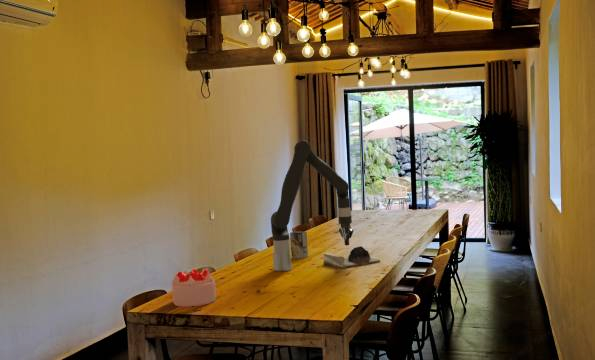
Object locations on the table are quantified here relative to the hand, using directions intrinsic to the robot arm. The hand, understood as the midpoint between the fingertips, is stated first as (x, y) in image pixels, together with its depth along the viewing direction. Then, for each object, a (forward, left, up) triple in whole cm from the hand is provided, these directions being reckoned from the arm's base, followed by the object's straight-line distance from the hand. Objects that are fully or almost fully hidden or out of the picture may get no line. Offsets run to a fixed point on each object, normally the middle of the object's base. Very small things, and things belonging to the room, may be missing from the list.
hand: (347, 245), depth 349 cm
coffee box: (-10, +41, -11) cm, 44 cm away
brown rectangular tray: (+2, 0, -11) cm, 11 cm away
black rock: (+8, -1, -11) cm, 13 cm away
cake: (-99, -25, -11) cm, 103 cm away
